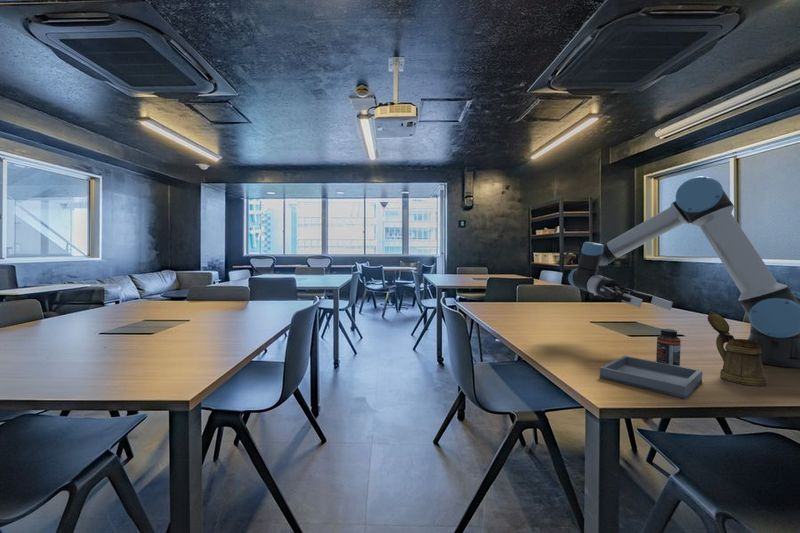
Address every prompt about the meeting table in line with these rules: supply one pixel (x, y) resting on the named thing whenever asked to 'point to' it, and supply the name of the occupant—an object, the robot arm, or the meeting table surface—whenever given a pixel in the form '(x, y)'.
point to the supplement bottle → (668, 347)
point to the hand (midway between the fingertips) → (656, 304)
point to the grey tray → (652, 376)
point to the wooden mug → (737, 355)
